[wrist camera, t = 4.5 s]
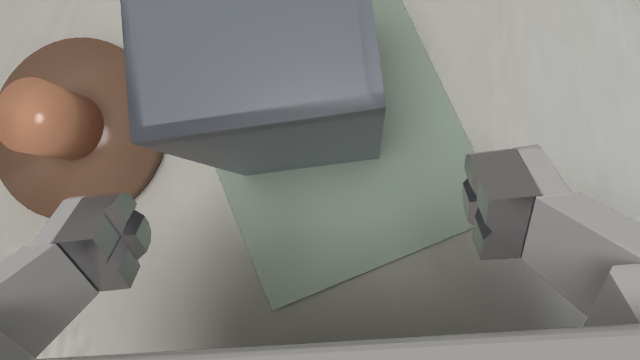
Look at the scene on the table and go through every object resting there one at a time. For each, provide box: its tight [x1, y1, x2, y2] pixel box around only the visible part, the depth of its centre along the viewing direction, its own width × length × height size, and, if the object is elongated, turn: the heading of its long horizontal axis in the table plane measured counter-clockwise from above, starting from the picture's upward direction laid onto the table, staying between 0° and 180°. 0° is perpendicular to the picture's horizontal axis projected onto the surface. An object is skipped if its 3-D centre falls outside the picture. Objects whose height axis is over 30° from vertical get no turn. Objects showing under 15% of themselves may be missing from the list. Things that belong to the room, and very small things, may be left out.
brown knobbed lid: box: [0, 38, 163, 218], centre depth 21 cm, size 10×10×4 cm
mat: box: [215, 0, 475, 311], centre depth 21 cm, size 15×12×1 cm
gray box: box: [120, 0, 386, 176], centre depth 16 cm, size 7×7×10 cm
